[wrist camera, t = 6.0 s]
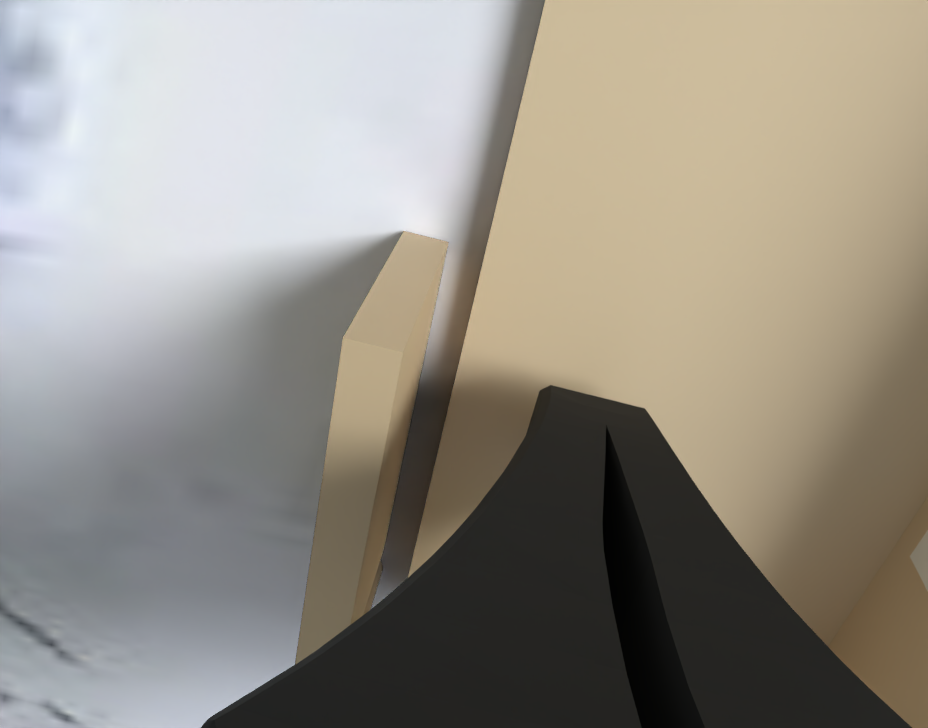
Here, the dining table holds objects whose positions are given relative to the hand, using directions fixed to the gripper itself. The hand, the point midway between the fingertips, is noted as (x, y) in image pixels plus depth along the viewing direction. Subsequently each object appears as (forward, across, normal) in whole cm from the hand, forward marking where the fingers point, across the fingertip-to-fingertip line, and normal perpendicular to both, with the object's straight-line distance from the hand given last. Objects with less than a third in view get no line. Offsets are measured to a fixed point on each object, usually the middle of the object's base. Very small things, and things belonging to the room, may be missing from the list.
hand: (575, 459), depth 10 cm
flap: (+1, +3, +1) cm, 3 cm away
